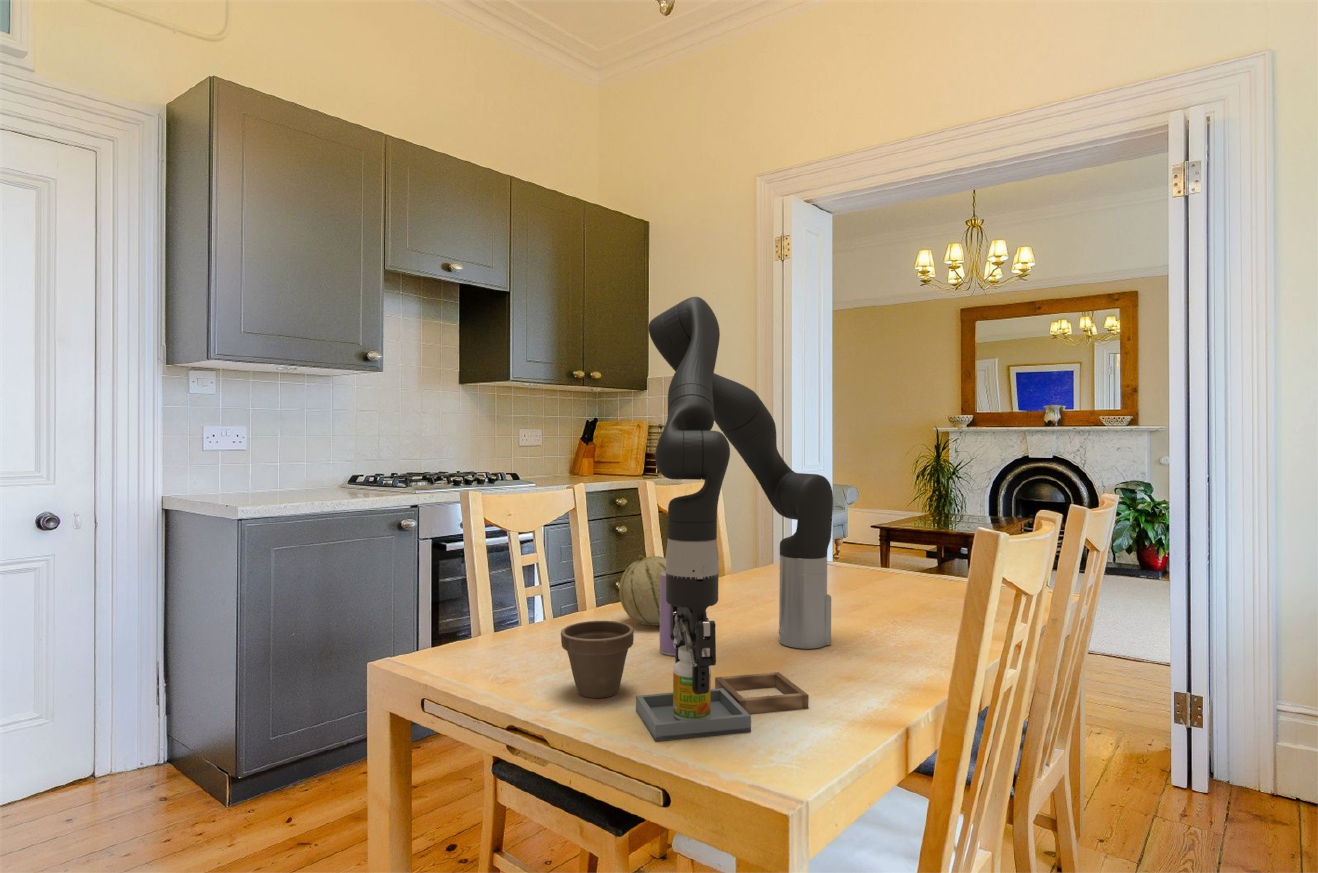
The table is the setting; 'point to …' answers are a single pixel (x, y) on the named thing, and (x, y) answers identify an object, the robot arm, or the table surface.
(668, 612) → the beverage can
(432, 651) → the table surface
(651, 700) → the tray
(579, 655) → the flower pot
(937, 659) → the table surface
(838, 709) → the table surface
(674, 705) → the supplement bottle
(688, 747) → the table surface
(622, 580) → the cantaloupe
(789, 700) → the brown wooden square frame
